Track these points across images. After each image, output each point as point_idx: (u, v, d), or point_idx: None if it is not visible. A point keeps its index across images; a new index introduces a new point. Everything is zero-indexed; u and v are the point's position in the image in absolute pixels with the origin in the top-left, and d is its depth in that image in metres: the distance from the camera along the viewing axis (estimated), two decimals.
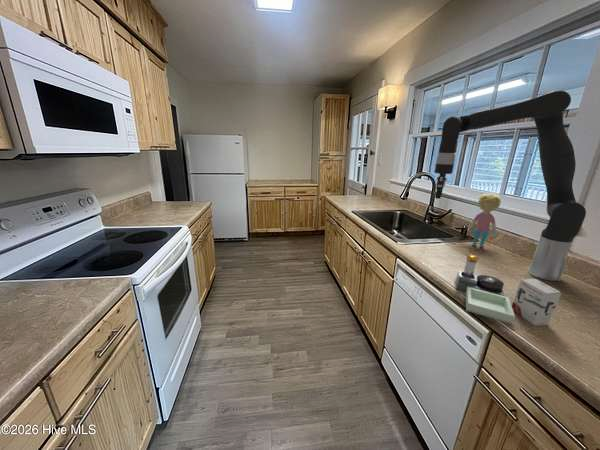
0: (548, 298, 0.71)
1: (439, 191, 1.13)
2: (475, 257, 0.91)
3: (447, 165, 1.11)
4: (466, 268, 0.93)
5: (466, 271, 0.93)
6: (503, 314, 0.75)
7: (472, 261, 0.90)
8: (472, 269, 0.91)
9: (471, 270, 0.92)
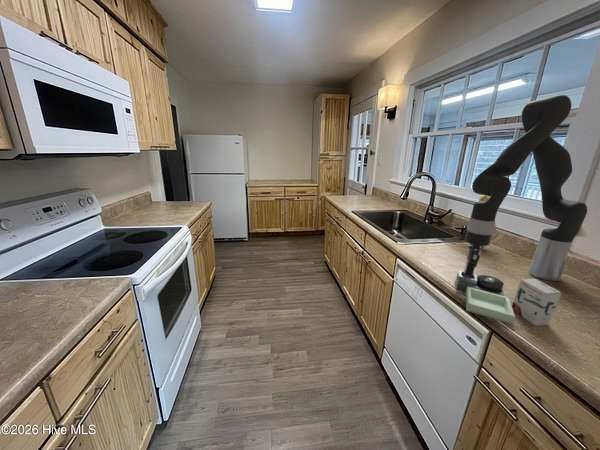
0: (548, 298, 0.71)
1: (471, 267, 0.90)
2: None
3: (483, 236, 0.85)
4: None
5: None
6: (503, 314, 0.75)
7: None
8: None
9: None
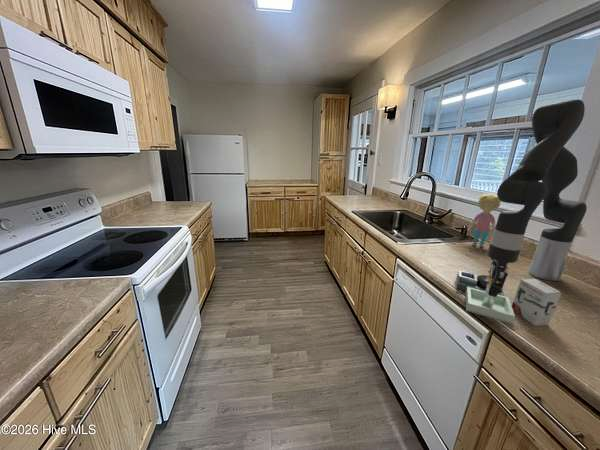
0: (548, 298, 0.71)
1: (496, 288, 0.77)
2: None
3: (511, 251, 0.72)
4: (487, 293, 0.81)
5: (487, 297, 0.81)
6: (503, 314, 0.75)
7: None
8: None
9: (493, 296, 0.80)
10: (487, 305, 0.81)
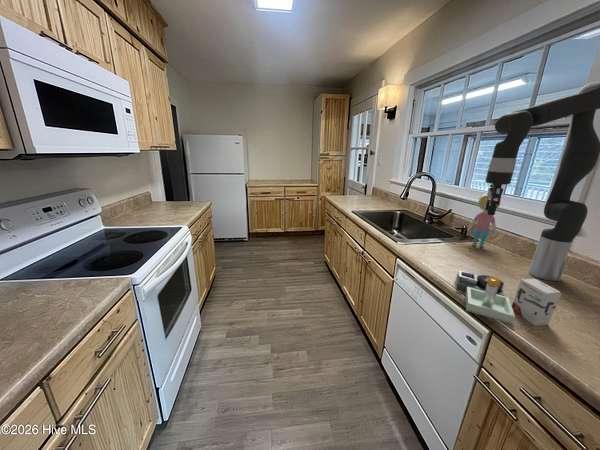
0: (548, 298, 0.71)
1: (494, 206, 0.90)
2: (497, 281, 0.79)
3: (505, 173, 0.87)
4: (486, 293, 0.81)
5: (486, 297, 0.81)
6: (503, 314, 0.75)
7: (494, 286, 0.79)
8: (494, 294, 0.79)
9: (492, 296, 0.80)
10: (487, 305, 0.81)
